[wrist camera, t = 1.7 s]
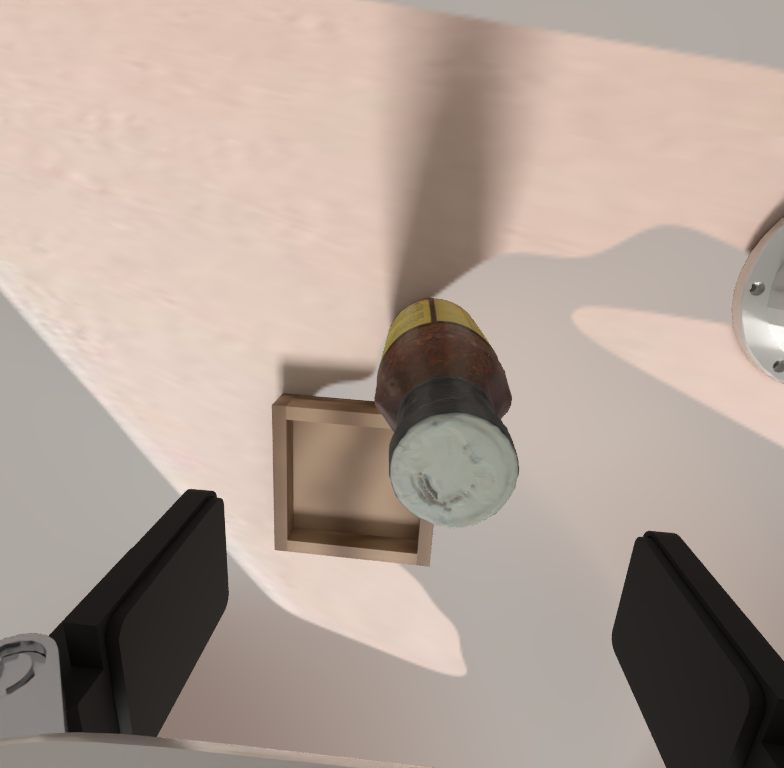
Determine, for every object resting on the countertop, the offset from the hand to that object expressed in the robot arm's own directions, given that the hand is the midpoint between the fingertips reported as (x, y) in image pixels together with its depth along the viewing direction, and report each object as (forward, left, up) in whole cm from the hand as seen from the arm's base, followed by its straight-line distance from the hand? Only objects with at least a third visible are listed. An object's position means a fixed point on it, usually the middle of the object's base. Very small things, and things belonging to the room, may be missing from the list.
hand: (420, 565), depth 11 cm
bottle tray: (+5, +11, -24) cm, 27 cm away
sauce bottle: (0, 0, -24) cm, 24 cm away
